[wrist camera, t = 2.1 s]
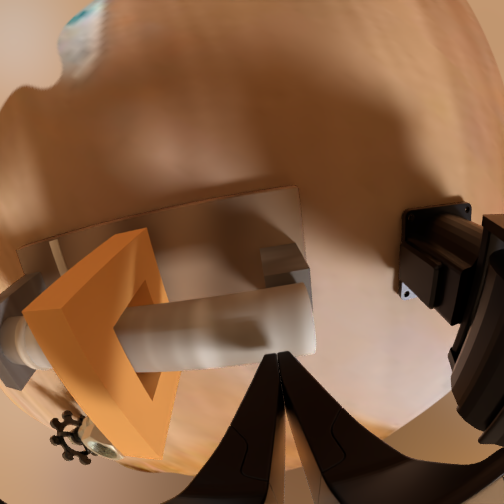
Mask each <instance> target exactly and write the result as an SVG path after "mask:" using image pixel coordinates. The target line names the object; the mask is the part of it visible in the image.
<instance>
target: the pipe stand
mask: <svg viewBox="0 0 504 504" xmlns="http://www.w3.org/2000/svg"><path fill="white" fill-rule="evenodd" d="M142 228H147V230H148V234H149V237H150V241H151V245H152V248H153V252H154V255H155V259H156V262H157V266H158V269H159V272H160V275H161V279H162V282H163V285H164V288H165V291H166V294H167V297H168V300H169V302H168V303H160V304H152V305H143V306H134V307H126V309H125V310H124V312H123V313H122V315H121V316H120V318H119V319H118V321H117V323H116V324H115V326H114V327H113V329H114V331H115V334H116V336H117V338H118V340H119V342H120V344H121V346H122V348H123V350H124V352H125V354H126V356H127V358H128V360H129V361H130V363H131V365H132V367H133V369H134V371H135V372H170V371H188V370H202V369H213V368H223V367H233V366H241V365H249V364H256V363H261V361H262V359H263V356H264V355H265V354H270V353H276V354H277V353H278V352H282V351H290V352H291V354H292V355H293V356H294V357H300V356H305V355H310V354H315V352H316V333H315V325H314V318H313V306H312V291H311V278H310V268H309V266H308V264H307V262H306V252H305V242H304V232H303V223H302V215H301V206H300V198H299V191H298V187H297V186H295V185H291V186H284V187H277V188H271V189H264V190H258V191H252V192H246V193H240V194H234V195H228V196H223V197H217V198H212V199H207V200H201V201H196V202H191V203H186V204H181V205H177V206H172V207H167V208H163V209H158V210H154V211H149V212H145V213H140V214H136V215H132V216H128V217H124V218H120V219H116V220H112V221H108V222H104V223H100V224H96V225H92V226H89V227H85V228H81V229H78V230H74V231H71V232H67V233H64V234H60V235H57V236H53V237H50V238H47V239H43V240H40V241H37V242H34V243H31V244H28V245H24V246H22V247H21V248H19V249H17V250H16V251H17V254H18V257H19V260H20V263H21V266H22V269H23V271H24V274H25V275H24V276H23V277H21V278H20V279H19V280H17V281H16V282H15V283H13V284H12V285H11V286H10V287H8V288H7V289H6V290H5V291H3V292H2V293H1V294H0V378H1V380H2V381H3V383H4V384H5V386H6V387H9V388H13V389H17V390H20V391H22V389H23V388H24V386H25V385H26V383H27V382H28V381H29V379H30V378H31V376H32V375H33V373H34V372H35V371H36V369H37V370H49V369H53V368H52V366H51V364H50V363H49V361H48V360H47V358H46V356H45V355H44V353H43V351H42V350H41V348H40V346H39V344H38V343H37V341H36V339H35V337H34V335H33V334H32V332H31V330H30V328H29V326H28V324H27V322H26V320H25V318H24V316H23V314H22V311H23V310H24V309H25V308H26V307H27V306H28V305H29V304H30V303H31V302H32V301H34V300H35V299H36V298H37V297H38V296H39V295H40V294H41V293H42V292H44V291H45V290H46V289H47V288H48V287H49V286H50V285H52V284H53V283H54V282H55V281H56V280H57V279H59V278H60V277H61V276H62V275H63V274H65V273H66V272H67V271H68V270H69V269H71V268H72V267H73V266H74V265H76V264H77V263H78V262H79V261H81V260H82V259H83V258H84V257H86V256H87V255H88V254H89V253H91V252H92V251H93V250H95V249H96V248H97V247H99V246H100V245H101V244H103V243H104V242H105V241H107V240H108V239H109V238H111V237H112V236H113V235H115V234H119V233H124V232H128V231H133V230H137V229H142ZM277 359H278V358H277Z"/></svg>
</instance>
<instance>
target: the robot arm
mask: <svg viewBox="0 0 504 504" xmlns="http://www.w3.org/2000/svg"><path fill="white" fill-rule="evenodd" d="M465 209H466V211H465ZM471 211H472V208H471V205H470V204H469V203H467V202H458V203H450V204H442V205H434V206H426V207H418V208H411V209H406V210H405V211H404V212H403V214H402V243H401V245H400V264H399V279H400V282H399V296H400V297H401V299H402V300H408V299H412V298H415V297H418V298H419V299H420V300H421V301H422V302H423V303H424V304H425V305H426V306H427V307H428V308H429V309H435V310H436V311H437V312H438V313H439V314H440V315H441V316H442V317H443V318H444V319H445V320H446V321H447V322H448V323H449V324H450V325H451V326H453V325H456V324H460V327H459V330H458V333H457V336H456V339H455V341H454V344H453V347H451V348H450V351H449V353H448V359H449V362H450V365H451V369H452V375H451V387H452V392H453V395H454V397H455V399H456V402H457V404H458V406H457V412H458V413H459V415H460V416H461V417H462V418H463V419H464V420H465V421H466V422H468V423H469V424H470V425H472V426H473V427H474V428H476V429H478V430H481V431H484V432H483V434H482V435H481V436H480V437H479V439H478V442H479V443H480V444H496V445H499V446H503V448H501V449H499V450H498V451H496V452H495V453H493V454H492V455H491V456H489V457H488V458H486V459H485V460H483V461H481V462H478V463H475V464H470V465H458V464H447V463H438V462H430V461H423V460H417V459H413V458H410V457H408V456H405V455H403V454H401V453H400V452H398V451H397V450H395V449H393V448H392V447H391V446H389V445H388V444H387V443H385V442H384V441H382V440H381V439H379V438H378V437H377V436H375V435H374V434H372V433H371V432H370V431H368V430H367V429H366V428H365V427H363V426H362V425H361V424H360V423H359V422H357V421H356V420H355V419H354V418H353V417H352V416H351V415H350V414H349V413H348V412H347V411H346V410H345V409H344V408H342V406H341V405H340V404H339V403H338V402H337V401H336V400H335V399H334V398H333V397H332V396H331V395H330V394H329V393H328V392H327V391H326V390H325V389H324V388H323V387H322V385H321V384H320V383H319V382H318V381H317V380H316V379H315V378H314V377H313V376H312V375H311V374H310V373H309V372H308V371H307V370H306V369H305V367H304V366H303V365H302V364H301V363H300V362H299V361H298V360H297V359H296V358H295V357H294V356H293V355H292V354H291V352H290V351H282V352H278V353H277V354H276V353H270V354H265V355H264V356H263V359H262V361H261V363H260V365H259V367H258V369H257V371H256V373H255V375H254V378H253V380H252V382H251V384H250V386H249V388H248V390H247V392H246V394H245V396H244V398H243V400H242V402H241V404H240V406H239V408H238V410H237V412H236V414H235V416H234V418H233V420H232V422H231V424H230V425H231V426H229V427H228V429H227V431H226V433H225V435H224V437H223V439H222V440H221V442H220V444H219V445H218V447H217V448H216V450H215V451H214V453H213V454H212V455H211V457H210V458H209V460H208V461H207V462H206V464H205V465H204V466H203V467H202V469H201V470H200V471H199V472H198V474H197V475H196V476H195V478H194V479H193V480H192V482H190V484H189V485H188V486H187V487H186V488H185V489H184V490H183V491H182V492H181V493H180V494H178V495H177V496H175V497H173V498H172V499H170V500H167V501H165V502H163V503H161V504H284V488H285V409H286V414H287V417H288V421H289V424H290V427H291V430H292V434H293V437H294V440H295V443H296V447H297V450H298V453H299V456H300V460H301V463H302V466H303V469H304V472H305V475H306V479H307V482H308V485H309V488H310V491H311V494H312V498H313V501H314V504H504V477H503V476H504V214H488V215H483V219H482V226H480V225H478V224H476V223H474V222H472V221H471ZM410 214H411V218H410V220H408V217H409V215H410ZM406 291H407V292H406ZM405 292H406V294H404V293H405ZM277 358H278V359H277ZM278 364H279V365H278ZM279 371H280V372H279ZM280 378H281V379H280ZM281 384H282V385H281ZM282 391H283V392H282ZM283 397H284V398H283ZM284 404H285V405H284ZM0 504H7V503H5V502H4V501H2V500H1V499H0Z"/></svg>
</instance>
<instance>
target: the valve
mask: <svg viewBox="0 0 504 504" xmlns="http://www.w3.org/2000/svg"><path fill="white" fill-rule="evenodd" d="M71 416H72V413H71V412H70V411H68V410H66V411H65V412H63V413H62V418H63V419H64V422H62V423H60V422H59V421H58V420H59V419H57V418H53V419H52V420H51V421H50V425H51V426H52V427H53V428H54V429H56V430H57V436H55V435H53V436H52V437H50V442H51V443H52V444H53V445H55V446H57V445H61V446H62V447H63V448H64V453H63V454H62V456H63V458H64V459H65V460H66V461H71V460H73V459H74V458H73V456H77V457H79V460H80V462H81V463H82V464H83V465H88V464H90V463H91V459H89V458H88V457H87V455H88V454H90V453H91V454H92V455H94V456H98V455H99V456H101V457H104V458H106V459H110V460H120V459H123V458H124V457H125V456H124V455H123V454H122V453H121V452H120V451H119V450H118V449H117V448H116V447H115V446H114V445H113V444H112V443H111V442H110V441H109V440H108V439H107V438H106V437H105V436H104V434H103V433H102V432H101V431H100V430H99V429H98V428H97V427H96V425H95V424H94V423H93V422H92V421H91V419H90V418H89V417H88V416H86V417H85V416H81V417H79V418H78V421H76V420H73V419H72V417H71ZM67 425H74V426H77V428H75V429H73V430H71V431H70V432H63V430H64V428H65V426H67ZM63 437H68V438H69V440H70V441H71V442H72V444H75V445H83V446H84V448H85V450H84V451H82V452H78V451H75V450H73V449H71V448H70V447H68V445H67V444H66V442H65V441H64V438H63Z"/></svg>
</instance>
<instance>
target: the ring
mask: <svg viewBox="0 0 504 504" xmlns="http://www.w3.org/2000/svg"><path fill="white" fill-rule="evenodd" d="M168 302H169V300H168V297H167V294H166V291H165V288H164V285H163V282H162V279H161V275H160V272H159V269H158V266H157V262H156V259H155V255H154V252H153V248H152V245H151V241H150V237H149V234H148V230H147V228H142V229H137V230H133V231H128V232H124V233H119V234H115V235H113V236H112V237H111V238H109V239H108V240H107V241H105V242H104V243H103V244H101V245H100V246H99V247H97V248H96V249H95V250H93V251H92V252H91V253H89V254H88V255H87V256H86V257H84V258H83V259H82V260H81V261H79V262H78V263H77V264H76V265H74V266H73V267H72V268H71V269H69V270H68V271H67V272H66V273H65V274H63V275H62V276H61V277H60V278H59V279H57V280H56V281H55V282H54V283H53V284H52V285H50V286H49V287H48V288H47V289H46V290H45V291H44V292H42V293H41V294H40V295H39V296H38V297H37V298H36V299H35V300H34V301H32V302H31V303H30V304H29V305H28V306H27V307H26V308H25V309H24V310H23V311H22V314H23V316H24V318H25V320H26V322H27V324H28V326H29V328H30V330H31V332H32V334H33V335H34V337H35V339H36V341H37V343H38V344H39V346H40V348H41V350H42V351H43V353H44V355H45V356H46V358H47V360H48V361H49V363H50V364H51V366H52V368H53V369H54V371H55V372H56V374H57V375H58V377H59V378H60V380H61V381H62V383H63V384H64V385H65V387H66V388H67V390H68V391H69V392H70V394H71V395H72V397H73V398H74V399H75V401H76V402H77V403H78V405H79V406H80V407H81V408H82V410H83V411H84V412H85V413H86V415H87V416H88V417H89V418H90V419H91V421H92V422H93V423H94V424H95V425H96V427H97V428H98V429H99V430H100V431H101V432H102V433H103V434H104V436H105V437H106V438H107V439H108V440H109V441H110V442H111V443H112V444H113V445H114V446H115V447H116V448H117V449H118V450H119V451H120V452H121V453H122V454H123V455H124V456H131V457H139V458H147V459H157V460H162V457H163V452H164V447H165V442H166V437H167V432H168V428H169V423H170V418H171V414H172V409H173V405H174V400H175V396H176V391H177V387H178V383H179V378H180V374H181V371H170V372H135V371H134V369H133V367H132V365H131V363H130V361H129V360H128V358H127V356H126V354H125V352H124V350H123V348H122V346H121V344H120V342H119V340H118V338H117V336H116V334H115V331H114V329H113V327H114V326H115V324H116V323H117V321H118V319H119V318H120V316H121V315H122V313H123V312H124V310H125V309H126V307H134V306H143V305H152V304H160V303H168Z"/></svg>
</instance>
